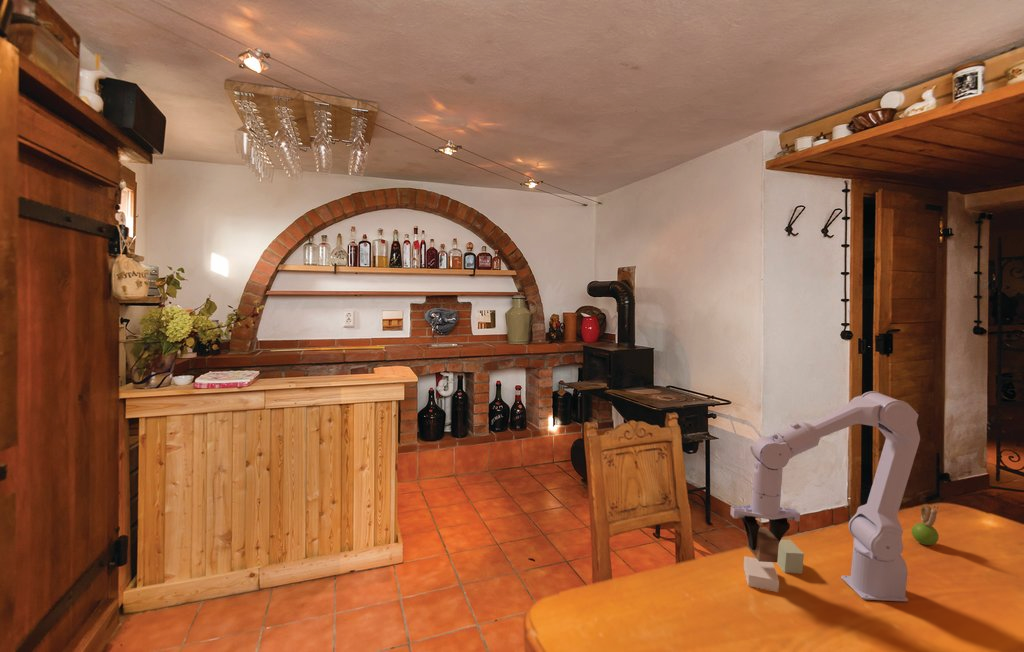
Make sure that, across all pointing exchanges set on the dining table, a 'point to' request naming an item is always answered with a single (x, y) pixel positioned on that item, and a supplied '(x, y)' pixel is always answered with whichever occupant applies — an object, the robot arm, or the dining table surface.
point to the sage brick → (790, 557)
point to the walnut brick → (766, 546)
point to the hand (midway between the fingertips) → (762, 548)
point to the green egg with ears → (926, 527)
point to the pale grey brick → (761, 574)
